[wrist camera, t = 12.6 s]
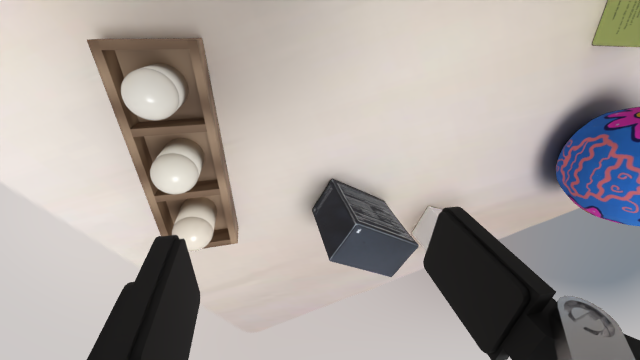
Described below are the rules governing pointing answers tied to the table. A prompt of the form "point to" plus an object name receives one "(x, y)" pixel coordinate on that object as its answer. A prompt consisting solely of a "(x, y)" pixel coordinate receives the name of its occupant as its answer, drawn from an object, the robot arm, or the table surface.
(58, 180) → the table surface
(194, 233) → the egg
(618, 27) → the protein box
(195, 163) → the egg middle
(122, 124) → the crate
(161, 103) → the white rounded cylinder
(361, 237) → the small box
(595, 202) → the ceramic pot
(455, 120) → the table surface
